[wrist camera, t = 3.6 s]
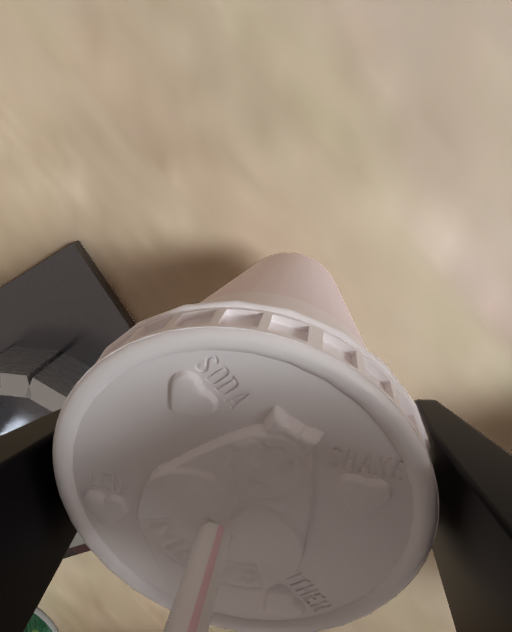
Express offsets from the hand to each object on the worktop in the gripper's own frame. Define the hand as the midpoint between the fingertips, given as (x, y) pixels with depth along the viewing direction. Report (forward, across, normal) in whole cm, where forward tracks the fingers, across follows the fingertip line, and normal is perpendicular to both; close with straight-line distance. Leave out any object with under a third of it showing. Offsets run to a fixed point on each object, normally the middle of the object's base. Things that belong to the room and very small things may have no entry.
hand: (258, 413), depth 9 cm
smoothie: (+7, 0, 0) cm, 7 cm away
